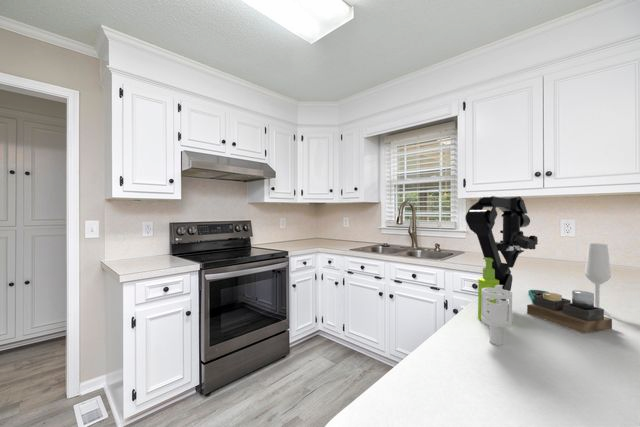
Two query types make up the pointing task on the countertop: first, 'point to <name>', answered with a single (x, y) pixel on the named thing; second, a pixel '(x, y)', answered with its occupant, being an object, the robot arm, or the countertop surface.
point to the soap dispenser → (486, 282)
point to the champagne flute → (598, 268)
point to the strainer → (496, 312)
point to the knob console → (570, 315)
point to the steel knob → (583, 299)
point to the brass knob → (552, 296)
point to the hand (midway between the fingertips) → (510, 267)
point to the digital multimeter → (535, 294)
